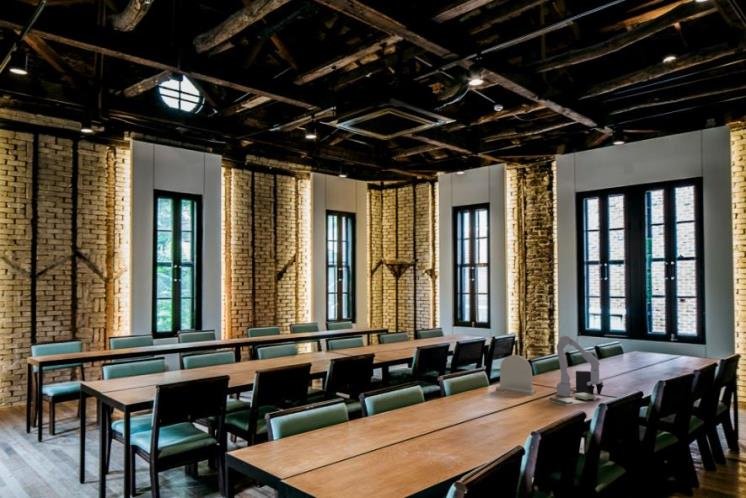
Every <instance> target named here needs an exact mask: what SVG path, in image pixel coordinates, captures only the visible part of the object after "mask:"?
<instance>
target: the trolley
mask: <svg viewBox="0 0 746 498" xmlns="http://www.w3.org/2000/svg"><path fill="white" fill-rule="evenodd" d="M573 397H574V399H576V400H579V399H581V400H582V401H583V402H587V401H588V400H592V401H594V400H595V399H596V395H595V394H593V395H592V394H590V393H589V392H588V393H587V392H584V391H582V392H578V393H576V392H575V393H573Z"/></svg>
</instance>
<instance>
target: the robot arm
mask: <svg viewBox="0 0 746 498" xmlns="http://www.w3.org/2000/svg"><path fill="white" fill-rule="evenodd" d="M567 345H569V346H571V347H574V348H575V349H577V350H578V352H580V353H581V357H582V358H583V359H584V360H585V361H586V362H587V363H590V372H591V381H590V382H587V387H588V389H589V392H588V393H589V394H592V395H594V391H595V387H596V394H597V395H601V393H602V390H603V387H604V381H603V380H600V366H601V365H600V361H599V360H598V358H597V357H596V356H594V355H593V354H592V352H591V351H589V350H585V349H584V348H583V347H582V346H581V345H580V343H578V342H577V341H576V340H575V339H574V338H572V337H571V336H570V335H569V334H563V335H562V336H561V337H560V338H559V341H558V342H557V344H556V351H557V352H556V353H557V358H558V363H559V369H560V374H561V375H560V381H559V382H557V384H556V395H557V396H562V397H564V398H569V397H574V394H571V393H572V389H571V377H570V374H569V373H568V368H567V363H566V362H567V361H566V358H565V351H564V348H566V346H567Z"/></svg>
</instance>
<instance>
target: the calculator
mask: <svg viewBox="0 0 746 498" xmlns="http://www.w3.org/2000/svg"><path fill="white" fill-rule="evenodd" d="M590 381H591V370H576V371H575V391H576V392H584V393H587V392H588V393H590V392H589V389H588V387H587V382H590Z"/></svg>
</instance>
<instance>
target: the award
mask: <svg viewBox="0 0 746 498" xmlns="http://www.w3.org/2000/svg"><path fill="white" fill-rule="evenodd" d="M532 369H533V368H532V366H531V363H530V362H529V361H528V359H526V358H525V357H524V356H522V355H518V354H512V355H508V356H506V357H505V358H504V359H503V360H502V361H501V363H500V366H499V386H496V387H495V390H496V391H498V390H499V391H500V392H505V391H506V393H512V392H513V393H512V394H518V393H519V394H520V395H525V394H526V395H527V396H534V395H535V394H536V393H537V391H536V389H535V390H533V370H532ZM499 391H498V392H499ZM526 395H525V396H526Z"/></svg>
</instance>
